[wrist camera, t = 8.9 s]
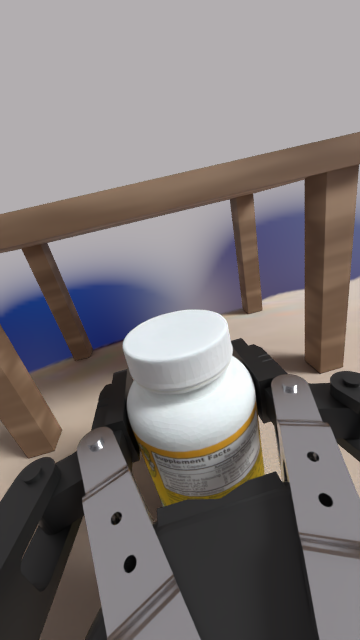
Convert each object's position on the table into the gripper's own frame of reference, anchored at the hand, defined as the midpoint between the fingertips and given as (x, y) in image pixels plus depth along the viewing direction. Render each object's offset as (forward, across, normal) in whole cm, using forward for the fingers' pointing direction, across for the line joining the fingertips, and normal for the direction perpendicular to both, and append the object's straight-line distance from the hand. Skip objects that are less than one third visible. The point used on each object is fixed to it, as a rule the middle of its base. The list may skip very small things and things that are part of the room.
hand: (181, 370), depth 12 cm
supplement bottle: (-3, 0, +6) cm, 7 cm away
